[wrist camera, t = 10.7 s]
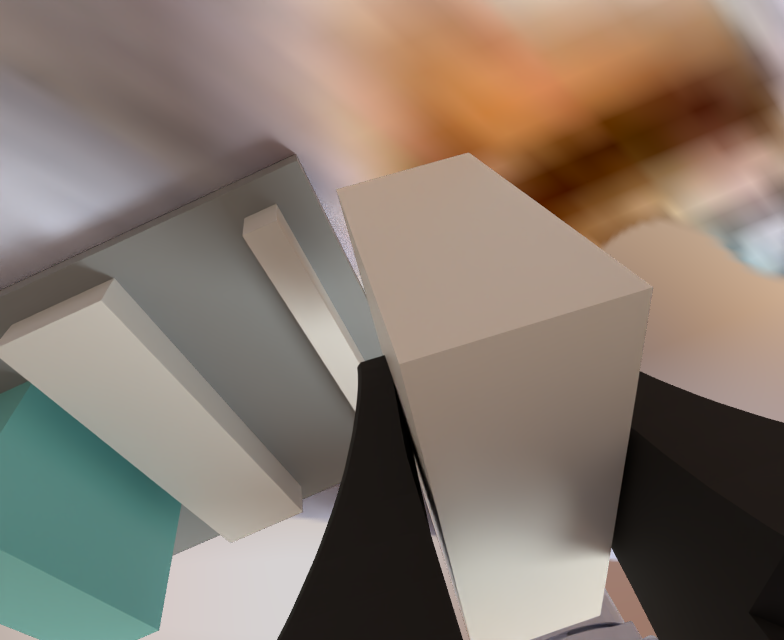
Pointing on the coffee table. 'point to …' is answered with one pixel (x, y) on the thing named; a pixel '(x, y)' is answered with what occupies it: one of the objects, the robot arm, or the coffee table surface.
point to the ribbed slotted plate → (207, 350)
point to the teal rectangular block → (77, 529)
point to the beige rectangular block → (504, 384)
